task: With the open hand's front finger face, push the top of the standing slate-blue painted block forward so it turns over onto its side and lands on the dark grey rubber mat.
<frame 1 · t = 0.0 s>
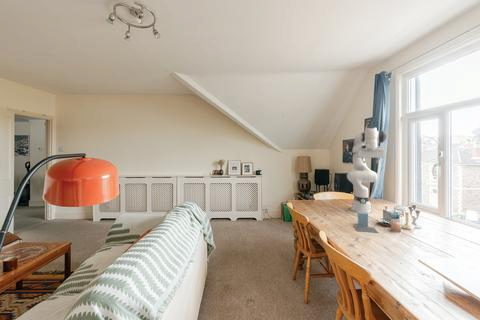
hand: (370, 163, 177), 48 cm above the table, fingers open, 8 cm apart
block: (362, 225, 169), on the table
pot: (395, 230, 157), on the table
light bulb box: (390, 224, 171), on the table
mat: (365, 229, 160), on the table
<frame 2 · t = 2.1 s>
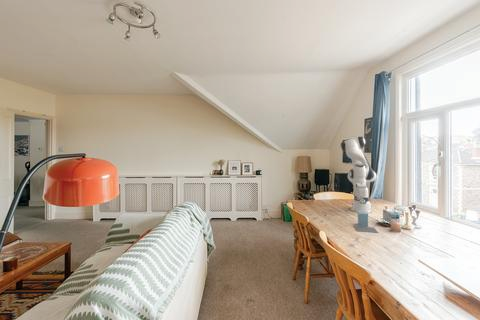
hand: (359, 201, 179), 17 cm above the table, fingers open, 8 cm apart
nothing on the table moved.
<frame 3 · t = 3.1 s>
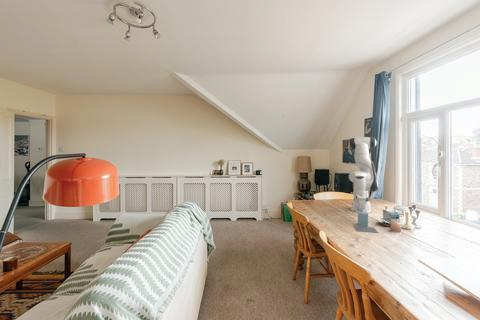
hand: (359, 212, 180), 7 cm above the table, fingers open, 8 cm apart
nothing on the table moved.
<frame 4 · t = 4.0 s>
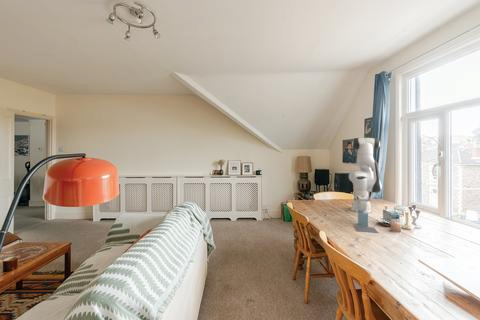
hand: (360, 213, 176), 7 cm above the table, fingers open, 7 cm apart
block: (362, 225, 169), on the table, touching gripper
everything else where it was.
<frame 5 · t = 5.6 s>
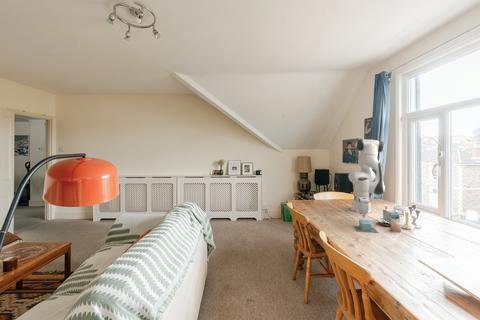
hand: (362, 215, 170), 7 cm above the table, fingers open, 8 cm apart
block: (363, 222, 166), point 3 cm above the table, tilted 90°, touching mat
everything else where it was.
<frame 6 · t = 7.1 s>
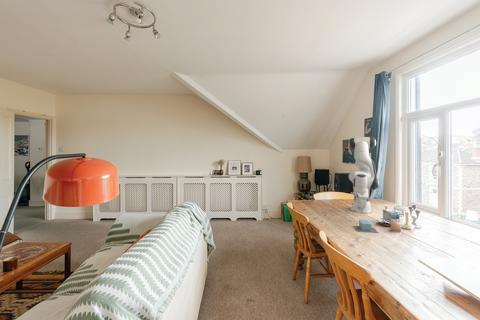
hand: (360, 210, 177), 9 cm above the table, fingers open, 8 cm apart
nothing on the table moved.
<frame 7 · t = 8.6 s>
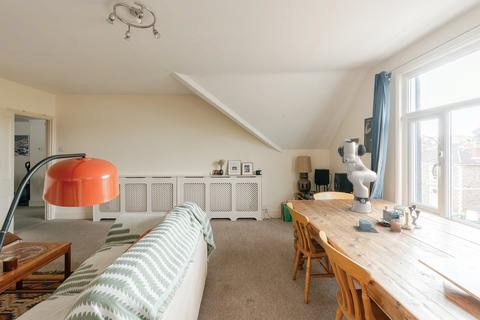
hand: (349, 176, 183), 37 cm above the table, fingers open, 8 cm apart
nothing on the table moved.
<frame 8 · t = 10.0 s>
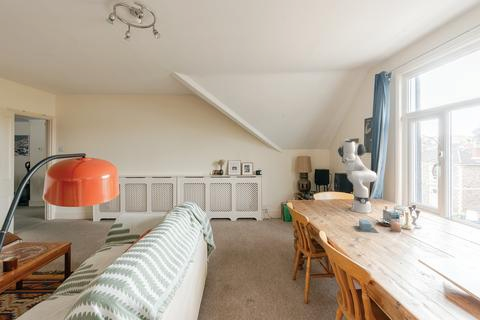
hand: (348, 175, 183), 37 cm above the table, fingers open, 8 cm apart
nothing on the table moved.
at the end: block tilted 90°; block inside the target area on the mat (4.6 cm from its centre), point 2.7 cm above the mat's base; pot moved 0.1 cm from its start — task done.
